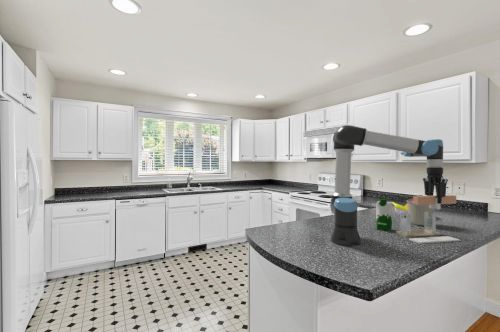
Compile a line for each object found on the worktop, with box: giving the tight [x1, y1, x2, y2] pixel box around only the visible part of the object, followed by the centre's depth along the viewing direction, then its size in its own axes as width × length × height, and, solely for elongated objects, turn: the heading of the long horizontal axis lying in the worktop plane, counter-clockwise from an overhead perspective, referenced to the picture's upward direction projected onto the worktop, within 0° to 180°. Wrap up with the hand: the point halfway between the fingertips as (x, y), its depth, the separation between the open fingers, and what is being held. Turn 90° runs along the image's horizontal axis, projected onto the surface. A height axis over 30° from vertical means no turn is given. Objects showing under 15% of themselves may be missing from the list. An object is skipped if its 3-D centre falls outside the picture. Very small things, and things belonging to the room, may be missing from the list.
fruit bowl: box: [391, 201, 409, 217], centre depth 213 cm, size 28×27×11 cm
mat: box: [408, 235, 461, 245], centre depth 142 cm, size 27×7×1 cm, turn 102°
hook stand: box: [395, 212, 441, 238], centre depth 155 cm, size 24×8×13 cm, turn 102°
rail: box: [412, 194, 457, 205], centre depth 142 cm, size 26×3×4 cm, turn 102°
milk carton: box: [375, 198, 393, 232], centre depth 166 cm, size 9×9×20 cm
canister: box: [405, 194, 436, 227], centre depth 182 cm, size 18×18×21 cm
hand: (434, 208), depth 142 cm, fingers closed on rail, 3 cm apart
